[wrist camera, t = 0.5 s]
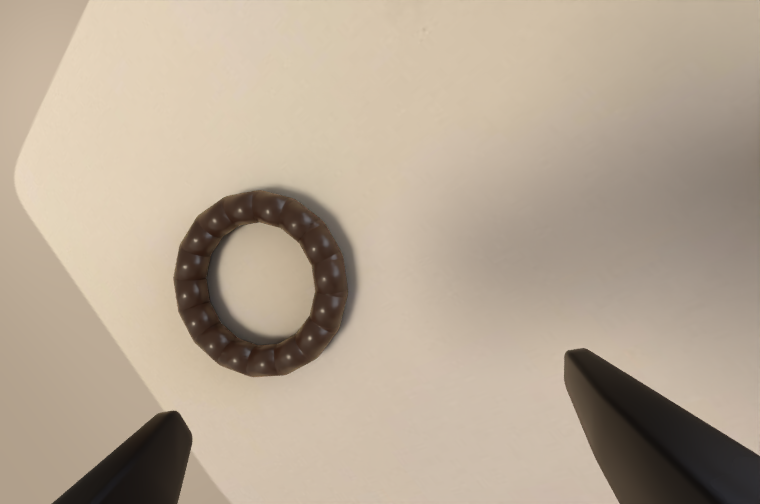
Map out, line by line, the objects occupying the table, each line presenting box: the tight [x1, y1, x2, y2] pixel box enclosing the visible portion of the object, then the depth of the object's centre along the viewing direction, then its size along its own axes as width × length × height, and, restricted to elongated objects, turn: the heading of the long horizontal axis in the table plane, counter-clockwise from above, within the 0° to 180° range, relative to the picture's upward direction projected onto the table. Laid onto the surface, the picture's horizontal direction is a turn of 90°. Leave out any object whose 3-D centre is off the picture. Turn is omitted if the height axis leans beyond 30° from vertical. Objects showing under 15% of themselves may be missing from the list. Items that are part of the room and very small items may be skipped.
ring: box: [174, 190, 348, 377], centre depth 26 cm, size 12×12×2 cm
